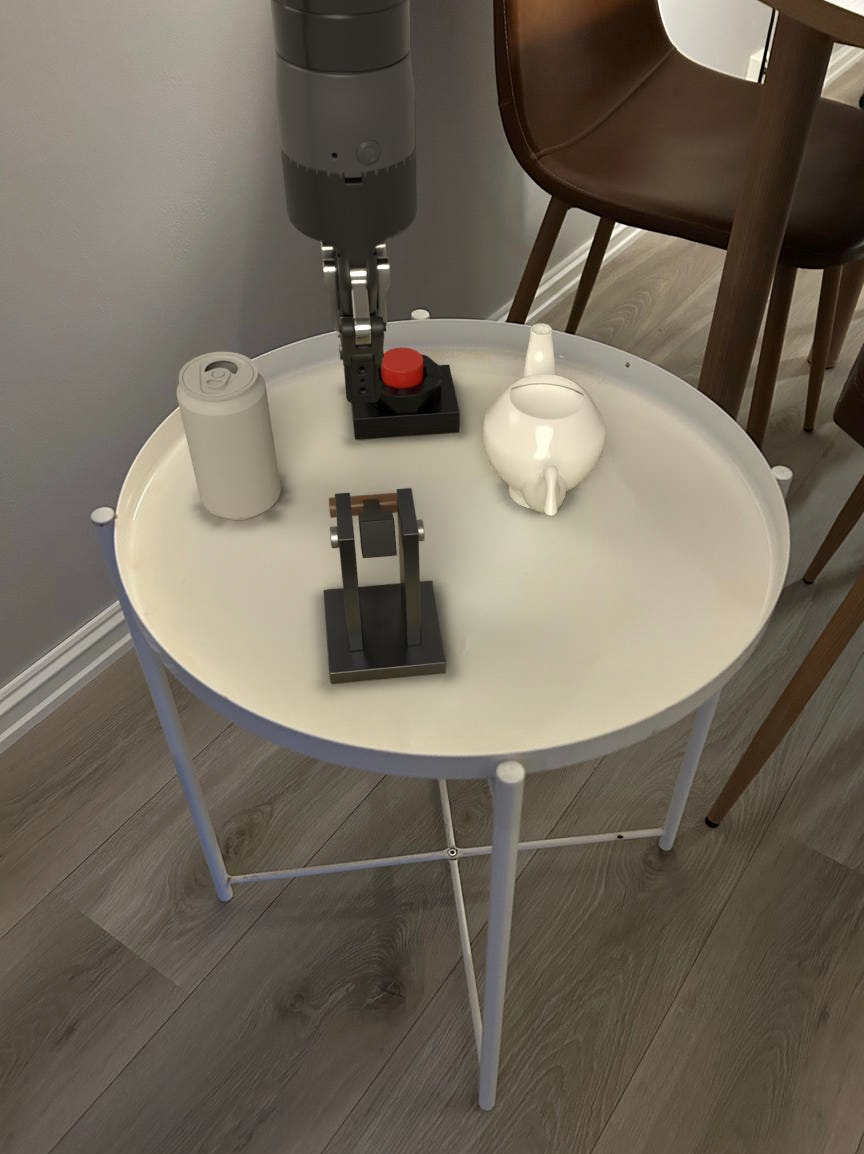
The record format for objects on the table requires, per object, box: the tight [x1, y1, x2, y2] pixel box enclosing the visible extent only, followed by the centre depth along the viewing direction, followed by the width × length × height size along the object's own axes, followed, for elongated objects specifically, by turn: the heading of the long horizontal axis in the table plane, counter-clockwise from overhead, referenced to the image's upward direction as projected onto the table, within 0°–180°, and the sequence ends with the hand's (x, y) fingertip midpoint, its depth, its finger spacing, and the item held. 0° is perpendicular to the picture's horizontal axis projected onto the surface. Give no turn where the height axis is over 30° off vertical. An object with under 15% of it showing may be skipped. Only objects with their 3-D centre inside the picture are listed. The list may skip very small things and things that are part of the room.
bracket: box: [322, 487, 447, 685], centre depth 72 cm, size 8×8×12 cm
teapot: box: [481, 323, 607, 516], centre depth 84 cm, size 10×20×9 cm, turn 0°
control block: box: [350, 353, 461, 441], centre depth 93 cm, size 9×7×4 cm
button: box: [381, 347, 423, 388], centre depth 91 cm, size 4×4×2 cm
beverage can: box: [176, 351, 282, 521], centre depth 81 cm, size 6×6×12 cm
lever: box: [328, 492, 398, 559], centre depth 73 cm, size 11×6×2 cm, turn 8°
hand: (362, 396), depth 72 cm, fingers closed
